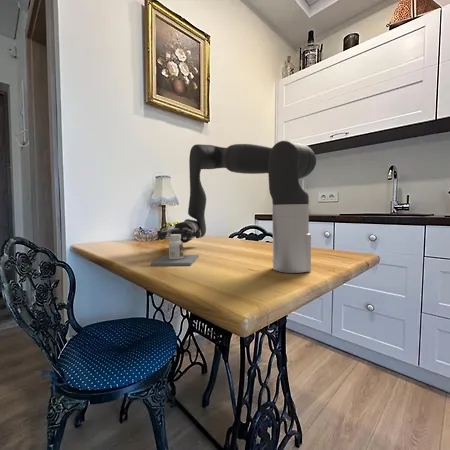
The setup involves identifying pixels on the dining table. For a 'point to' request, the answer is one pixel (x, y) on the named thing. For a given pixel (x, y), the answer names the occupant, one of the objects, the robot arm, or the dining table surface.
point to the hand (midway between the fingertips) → (174, 236)
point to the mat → (175, 261)
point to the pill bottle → (175, 247)
